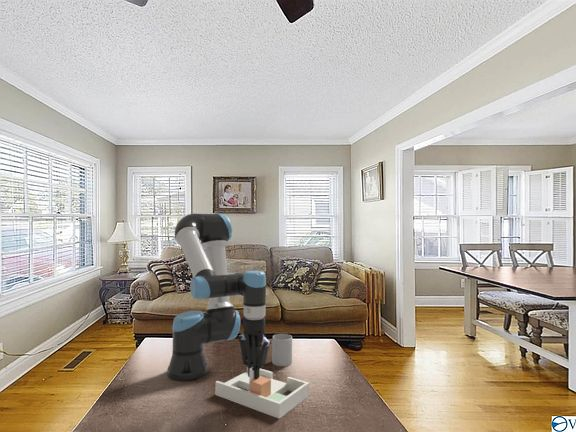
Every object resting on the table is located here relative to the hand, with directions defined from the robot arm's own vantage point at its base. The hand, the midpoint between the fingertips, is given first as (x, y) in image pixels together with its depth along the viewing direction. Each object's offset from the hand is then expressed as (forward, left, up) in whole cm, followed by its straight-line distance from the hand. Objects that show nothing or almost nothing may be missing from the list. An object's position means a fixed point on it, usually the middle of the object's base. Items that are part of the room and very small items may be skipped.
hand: (253, 387), depth 124 cm
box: (+1, +4, -4) cm, 6 cm away
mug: (-11, +34, -4) cm, 36 cm away
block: (+3, 0, -2) cm, 4 cm away
